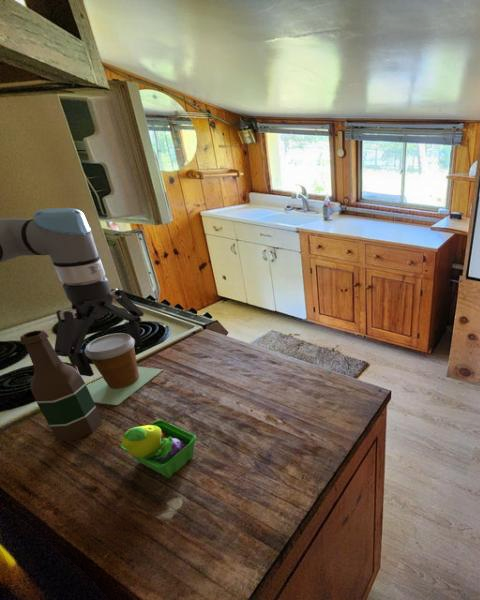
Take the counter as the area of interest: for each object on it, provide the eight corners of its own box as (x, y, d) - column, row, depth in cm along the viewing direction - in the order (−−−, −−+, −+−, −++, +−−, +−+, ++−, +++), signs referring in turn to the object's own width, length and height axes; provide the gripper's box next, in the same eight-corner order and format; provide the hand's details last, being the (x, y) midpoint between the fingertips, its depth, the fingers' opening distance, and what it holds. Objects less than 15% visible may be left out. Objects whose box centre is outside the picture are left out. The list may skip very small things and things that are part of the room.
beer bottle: (112, 420, 73) (71, 327, 63) (72, 447, 66) (19, 348, 56) (86, 412, 75) (43, 320, 65) (45, 437, 68) (-11, 340, 58)
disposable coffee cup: (91, 395, 80) (72, 354, 75) (114, 371, 88) (98, 333, 83) (135, 391, 81) (120, 351, 76) (153, 368, 90) (140, 331, 85)
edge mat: (65, 398, 78) (64, 398, 78) (117, 364, 91) (117, 364, 91) (117, 405, 77) (117, 405, 77) (163, 370, 90) (163, 369, 90)
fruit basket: (203, 454, 66) (191, 412, 61) (160, 492, 59) (142, 448, 54) (165, 436, 70) (150, 395, 65) (119, 469, 62) (99, 426, 57)
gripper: (36, 304, 61) (76, 393, 70) (146, 264, 84) (166, 334, 93) (1, 300, 62) (45, 388, 71) (119, 261, 84) (142, 332, 93)
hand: (114, 358), depth 82 cm, fingers open, 13 cm apart
